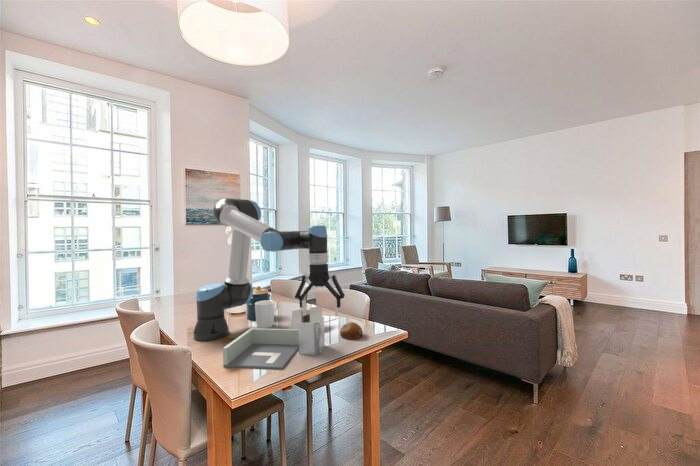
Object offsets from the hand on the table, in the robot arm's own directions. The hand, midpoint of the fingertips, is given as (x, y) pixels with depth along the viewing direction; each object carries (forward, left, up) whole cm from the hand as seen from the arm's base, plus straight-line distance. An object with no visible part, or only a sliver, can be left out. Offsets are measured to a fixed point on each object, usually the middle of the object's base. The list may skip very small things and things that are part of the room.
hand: (320, 315), depth 124 cm
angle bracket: (-3, -1, -14) cm, 14 cm away
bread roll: (+11, +16, -14) cm, 23 cm away
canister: (-45, +42, -14) cm, 63 cm away
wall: (-13, +25, -14) cm, 31 cm away
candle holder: (-35, +27, -14) cm, 46 cm away
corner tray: (-20, -8, -14) cm, 26 cm away
